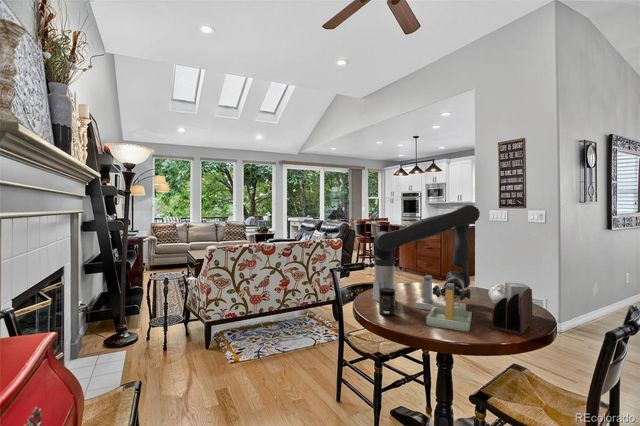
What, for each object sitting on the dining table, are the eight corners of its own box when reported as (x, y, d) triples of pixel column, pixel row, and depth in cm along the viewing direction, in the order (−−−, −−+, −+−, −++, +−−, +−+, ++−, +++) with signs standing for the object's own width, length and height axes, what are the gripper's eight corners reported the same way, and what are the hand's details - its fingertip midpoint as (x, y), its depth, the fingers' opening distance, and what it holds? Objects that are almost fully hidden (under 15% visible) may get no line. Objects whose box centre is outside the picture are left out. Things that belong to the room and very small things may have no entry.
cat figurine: (506, 288, 148) (497, 277, 162) (489, 296, 150) (481, 284, 164) (518, 306, 148) (507, 293, 162) (500, 314, 150) (491, 301, 164)
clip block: (416, 308, 150) (416, 300, 150) (419, 303, 157) (419, 296, 157) (464, 314, 141) (464, 307, 141) (466, 309, 148) (466, 302, 147)
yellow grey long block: (445, 321, 130) (445, 285, 130) (447, 317, 135) (447, 282, 134) (452, 322, 129) (452, 286, 129) (453, 318, 133) (454, 283, 133)
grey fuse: (424, 308, 150) (424, 277, 149) (426, 305, 154) (426, 275, 154) (429, 309, 148) (430, 277, 148) (431, 306, 153) (431, 275, 153)
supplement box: (530, 317, 137) (530, 287, 137) (510, 316, 138) (510, 286, 138) (523, 312, 144) (523, 282, 144) (504, 311, 146) (504, 282, 145)
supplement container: (394, 311, 145) (394, 288, 145) (395, 317, 138) (395, 292, 138) (378, 311, 146) (378, 287, 146) (379, 316, 139) (379, 291, 139)
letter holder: (532, 321, 133) (533, 286, 133) (522, 336, 118) (522, 296, 118) (504, 315, 140) (505, 282, 140) (491, 329, 125) (491, 291, 125)
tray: (469, 331, 122) (469, 323, 122) (426, 325, 129) (426, 317, 129) (471, 319, 135) (471, 311, 135) (432, 313, 142) (433, 306, 142)
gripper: (436, 276, 149) (430, 284, 134) (472, 280, 142) (469, 288, 128) (436, 293, 149) (430, 303, 134) (471, 297, 142) (469, 308, 128)
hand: (449, 296), depth 131 cm, fingers open, 8 cm apart
